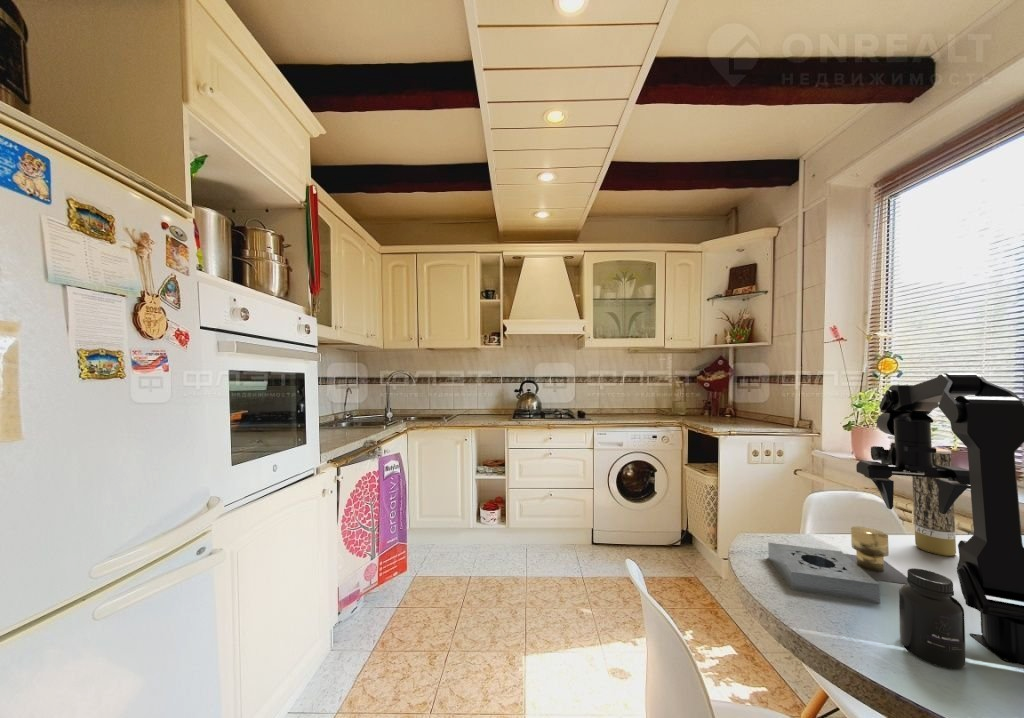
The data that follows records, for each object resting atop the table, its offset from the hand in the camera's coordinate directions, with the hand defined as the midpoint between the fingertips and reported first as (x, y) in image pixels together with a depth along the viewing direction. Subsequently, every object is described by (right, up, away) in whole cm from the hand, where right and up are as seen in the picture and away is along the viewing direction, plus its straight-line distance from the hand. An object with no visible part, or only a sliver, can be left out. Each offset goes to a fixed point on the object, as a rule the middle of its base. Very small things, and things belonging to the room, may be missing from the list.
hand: (915, 511), depth 84 cm
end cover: (-10, -12, 0) cm, 16 cm away
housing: (-26, -13, -5) cm, 29 cm away
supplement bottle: (-25, -12, -26) cm, 38 cm away
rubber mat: (-10, -13, 0) cm, 17 cm away
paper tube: (+15, -14, +9) cm, 22 cm away
